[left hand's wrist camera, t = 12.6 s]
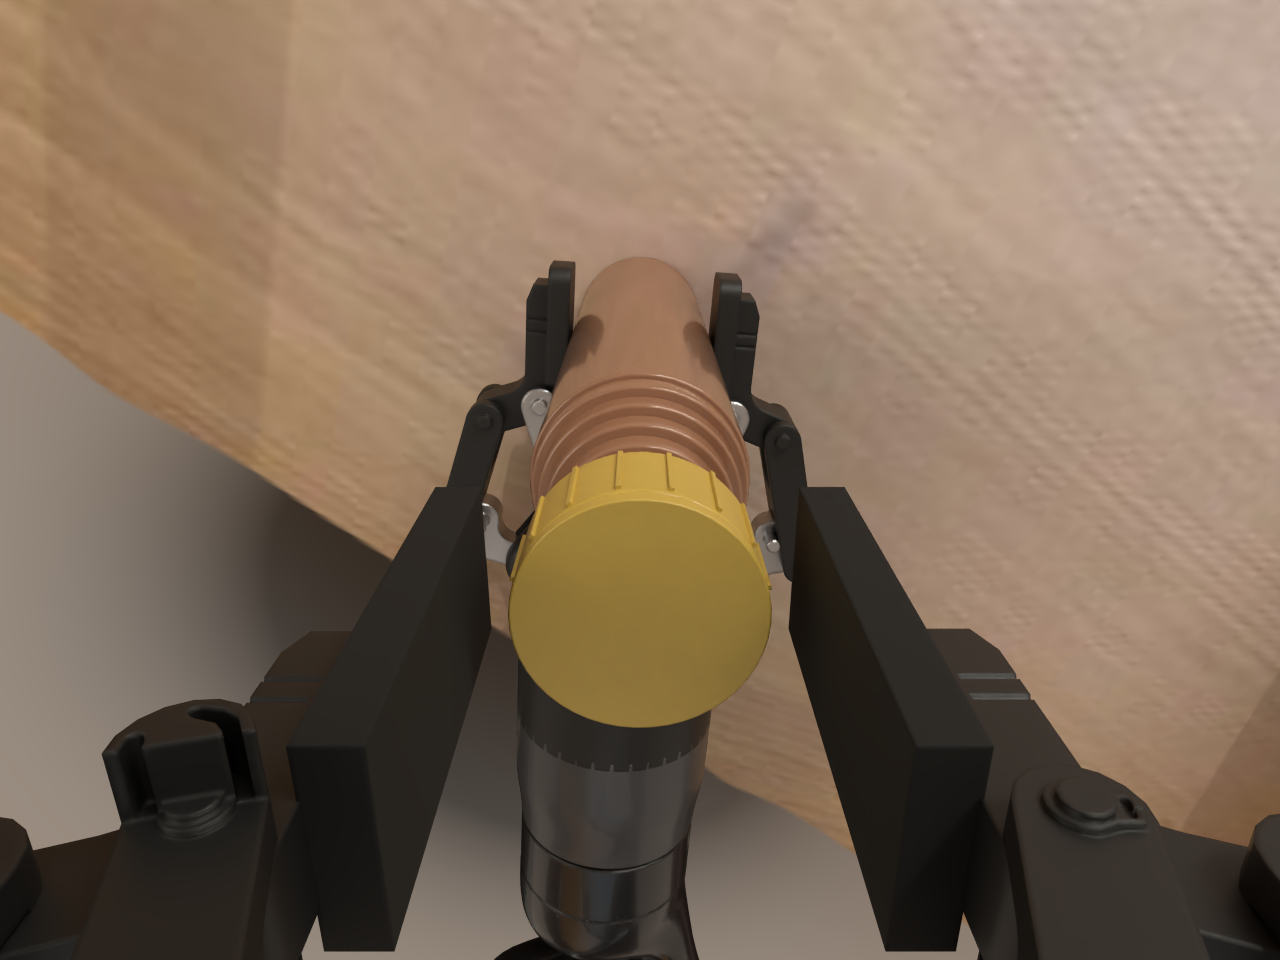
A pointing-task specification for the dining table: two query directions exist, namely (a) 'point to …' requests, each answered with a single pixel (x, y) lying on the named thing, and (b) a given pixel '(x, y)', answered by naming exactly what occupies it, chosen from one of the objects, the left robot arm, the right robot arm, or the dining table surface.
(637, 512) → the cap
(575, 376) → the bottle
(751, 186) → the dining table surface
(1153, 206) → the dining table surface
